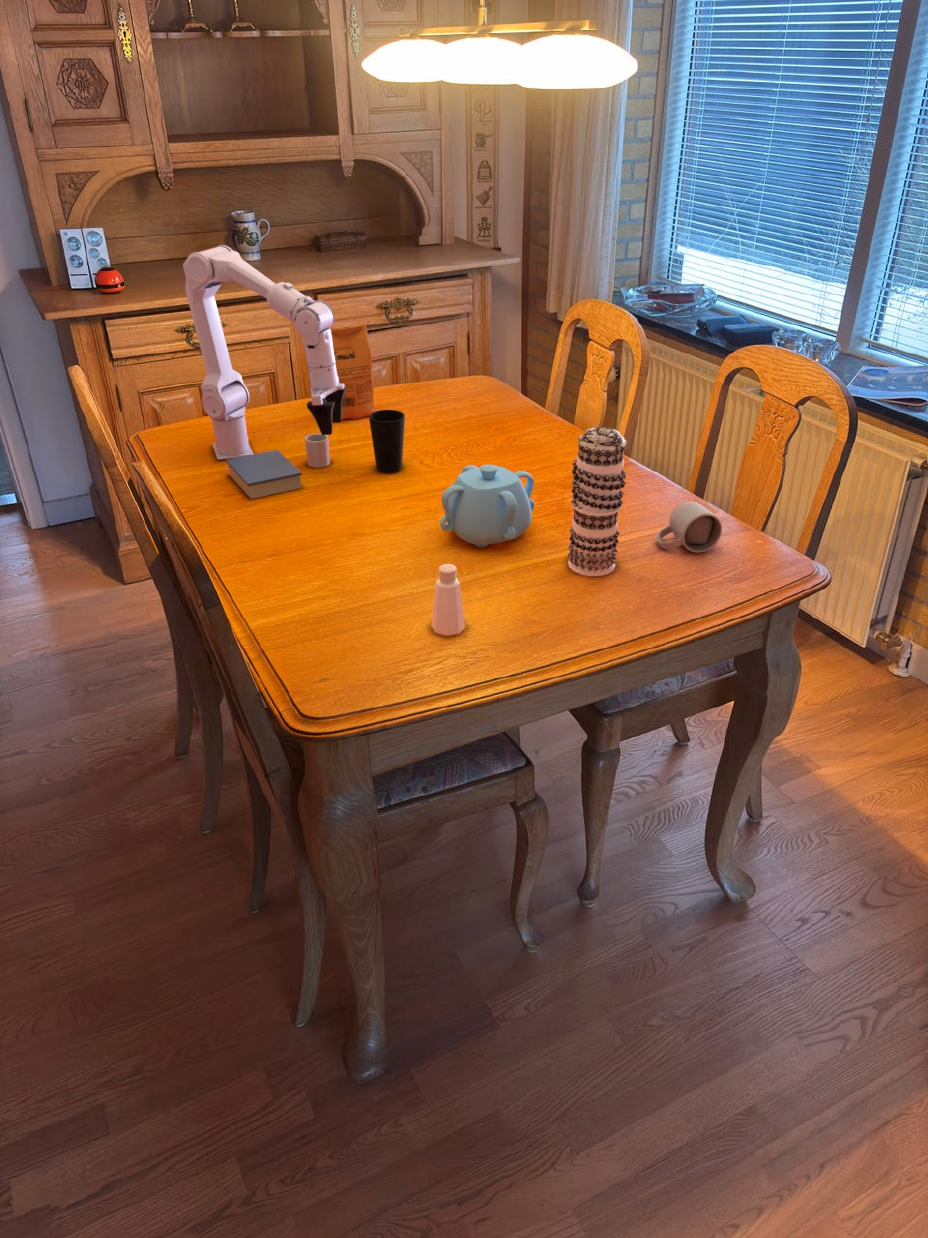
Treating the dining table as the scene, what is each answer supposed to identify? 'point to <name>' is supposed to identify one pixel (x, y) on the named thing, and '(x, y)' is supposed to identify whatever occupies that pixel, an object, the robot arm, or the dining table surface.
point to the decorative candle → (596, 501)
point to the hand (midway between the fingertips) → (331, 428)
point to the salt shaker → (447, 603)
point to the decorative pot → (488, 505)
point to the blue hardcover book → (264, 474)
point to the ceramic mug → (691, 528)
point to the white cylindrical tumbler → (317, 450)
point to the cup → (387, 439)
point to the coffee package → (354, 370)
